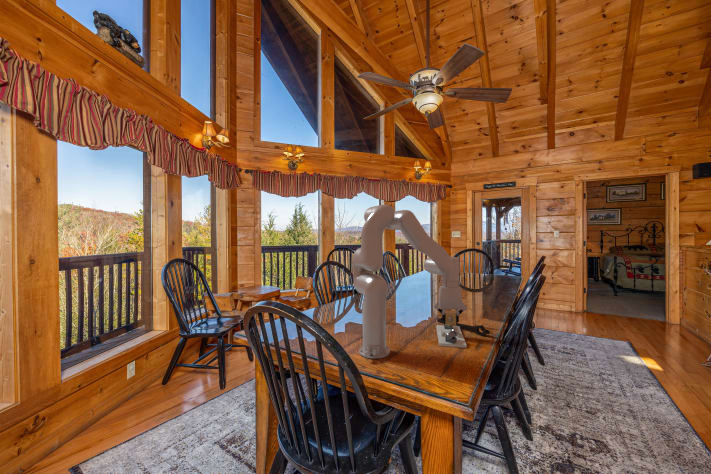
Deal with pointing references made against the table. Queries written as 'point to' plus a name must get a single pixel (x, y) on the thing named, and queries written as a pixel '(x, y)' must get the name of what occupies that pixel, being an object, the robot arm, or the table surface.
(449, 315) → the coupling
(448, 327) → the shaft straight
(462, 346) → the light grey rectangular plate
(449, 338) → the dark grey rounded block
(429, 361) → the table surface
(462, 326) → the wrench
